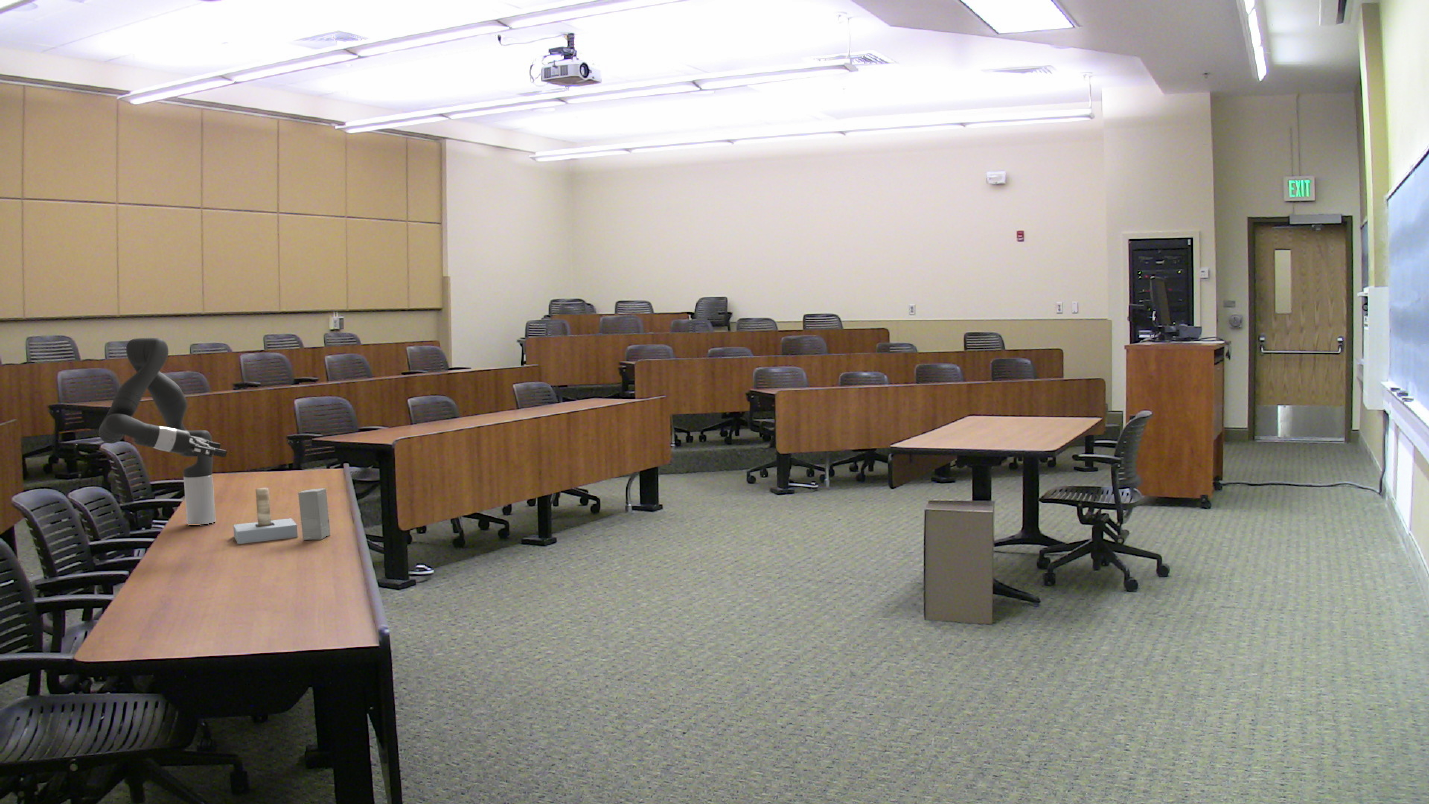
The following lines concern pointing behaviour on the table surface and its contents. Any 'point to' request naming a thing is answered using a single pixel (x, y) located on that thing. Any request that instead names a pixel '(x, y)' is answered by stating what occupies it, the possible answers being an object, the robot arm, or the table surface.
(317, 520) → the skincare box
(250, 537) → the seat board
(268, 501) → the dowel
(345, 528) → the table surface
